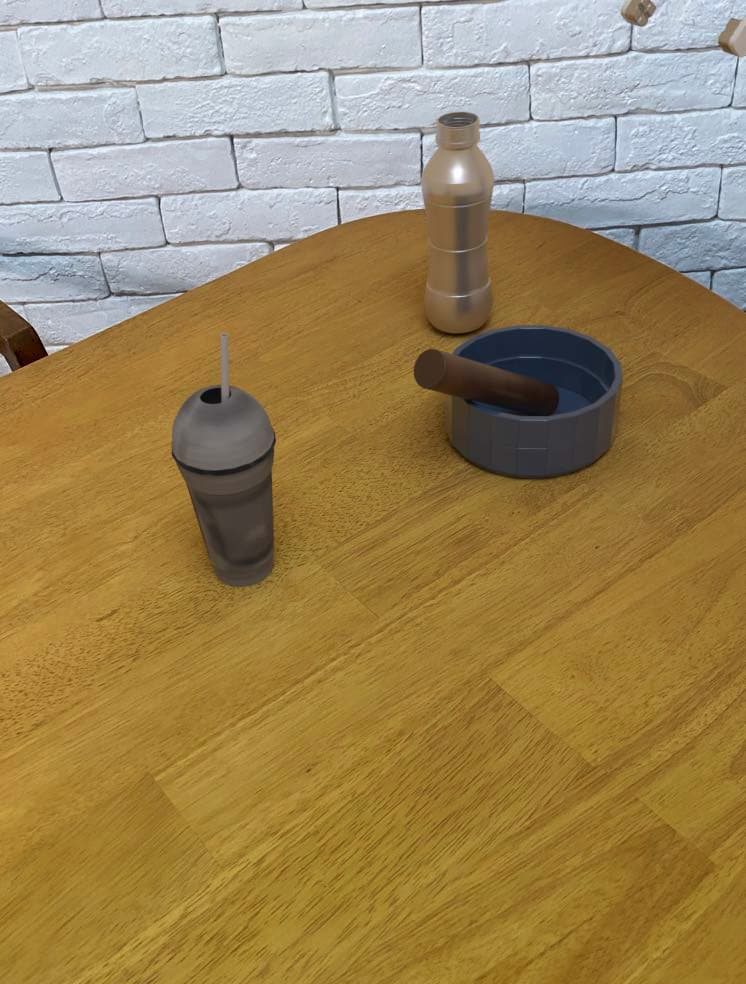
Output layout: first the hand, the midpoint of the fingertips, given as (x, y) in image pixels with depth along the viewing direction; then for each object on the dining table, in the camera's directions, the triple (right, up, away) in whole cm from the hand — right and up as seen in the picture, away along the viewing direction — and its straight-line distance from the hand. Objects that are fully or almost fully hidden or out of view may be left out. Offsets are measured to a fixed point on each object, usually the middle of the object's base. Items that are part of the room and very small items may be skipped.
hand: (677, 35), depth 81 cm
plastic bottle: (-13, -16, +28) cm, 35 cm away
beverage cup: (-32, -38, +4) cm, 50 cm away
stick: (-7, -25, +15) cm, 29 cm away
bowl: (-8, -27, +15) cm, 32 cm away
